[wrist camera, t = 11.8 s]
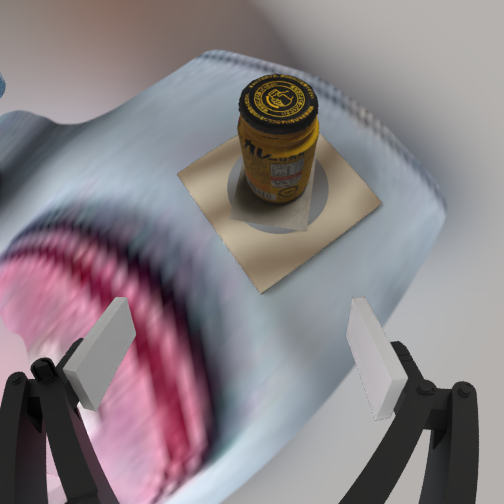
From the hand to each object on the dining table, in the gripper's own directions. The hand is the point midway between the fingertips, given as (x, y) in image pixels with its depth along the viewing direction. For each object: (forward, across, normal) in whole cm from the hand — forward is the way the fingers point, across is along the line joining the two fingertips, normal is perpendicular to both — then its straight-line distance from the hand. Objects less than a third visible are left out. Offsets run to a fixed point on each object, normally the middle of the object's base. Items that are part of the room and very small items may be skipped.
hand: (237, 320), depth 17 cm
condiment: (+16, +3, +5) cm, 16 cm away
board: (+16, +3, +4) cm, 17 cm away
